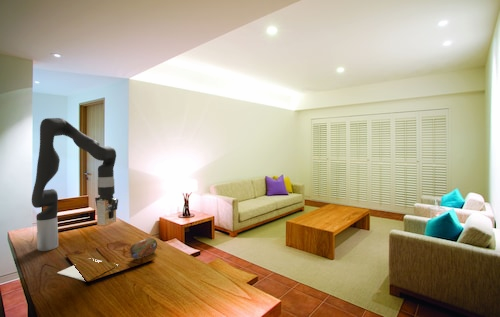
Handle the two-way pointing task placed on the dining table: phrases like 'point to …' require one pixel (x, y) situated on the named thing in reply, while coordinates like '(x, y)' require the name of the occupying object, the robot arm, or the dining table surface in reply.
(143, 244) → the tin
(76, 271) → the felt mat
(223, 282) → the dining table surface
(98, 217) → the supplement box
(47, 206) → the robot arm
